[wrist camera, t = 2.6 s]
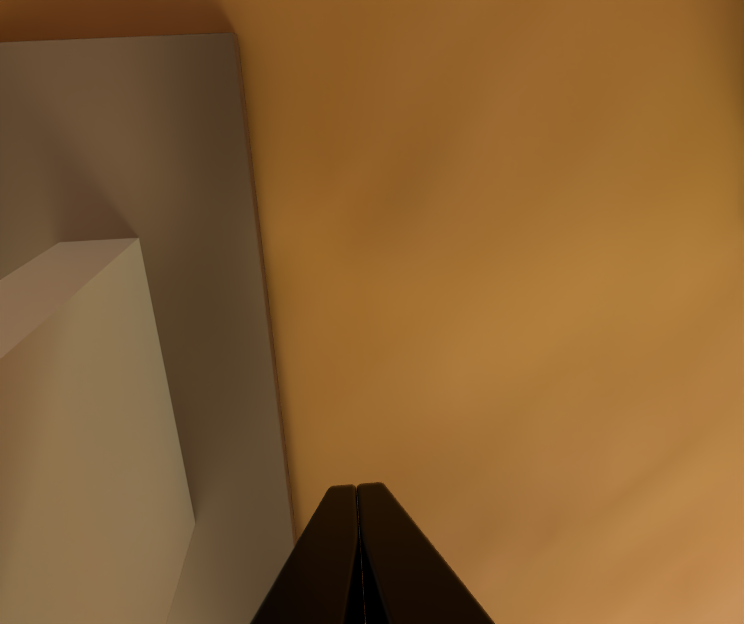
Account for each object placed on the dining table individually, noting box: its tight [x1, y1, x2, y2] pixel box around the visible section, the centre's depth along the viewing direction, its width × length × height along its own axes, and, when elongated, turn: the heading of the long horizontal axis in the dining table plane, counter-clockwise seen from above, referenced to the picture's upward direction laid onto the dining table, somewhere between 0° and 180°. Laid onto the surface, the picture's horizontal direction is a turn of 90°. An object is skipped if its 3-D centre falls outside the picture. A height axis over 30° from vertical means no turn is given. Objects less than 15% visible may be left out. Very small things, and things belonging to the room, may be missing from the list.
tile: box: [0, 238, 195, 624], centre depth 9 cm, size 2×7×8 cm, turn 2°
